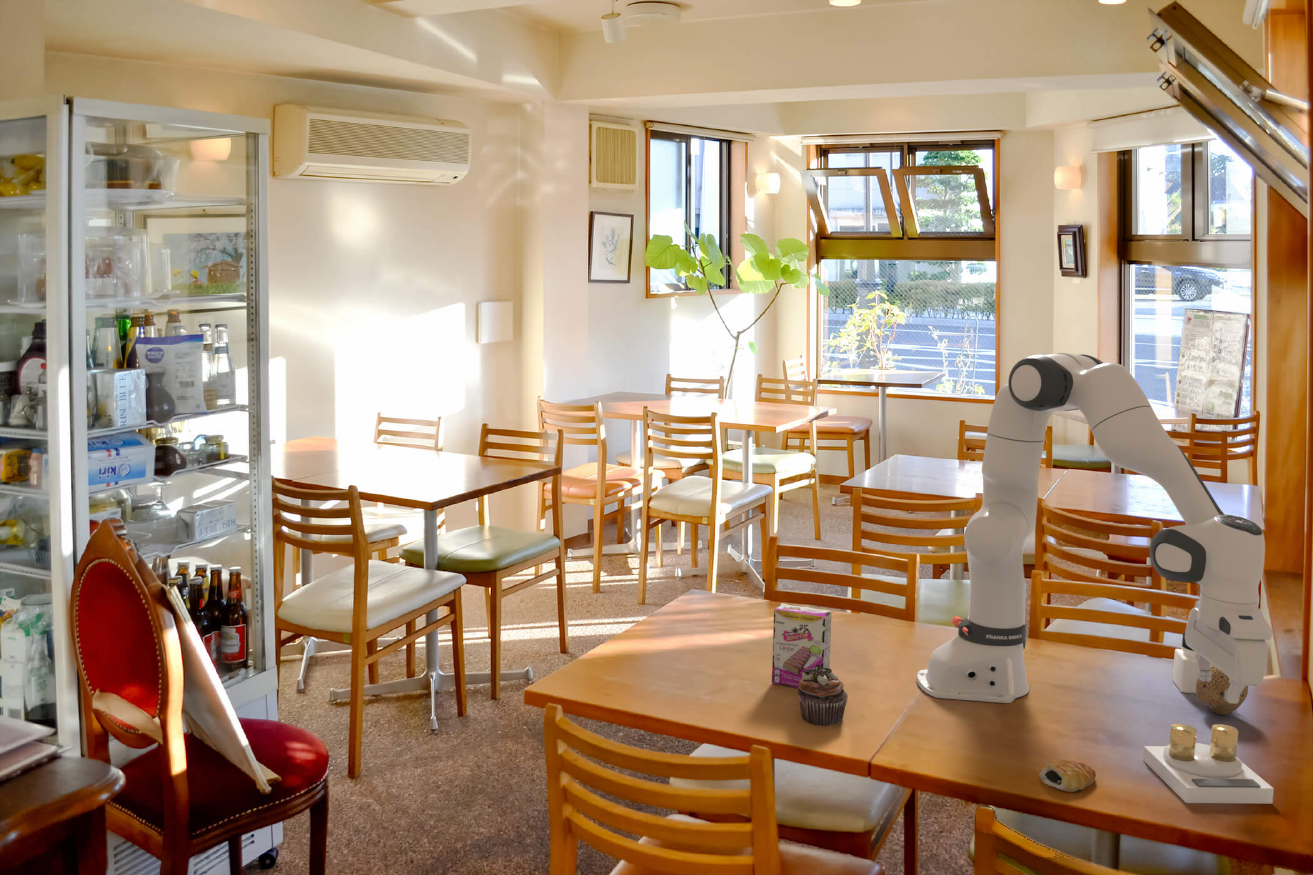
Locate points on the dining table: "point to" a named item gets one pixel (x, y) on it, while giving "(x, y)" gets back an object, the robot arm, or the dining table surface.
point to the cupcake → (821, 697)
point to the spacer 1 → (1182, 742)
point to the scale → (1208, 777)
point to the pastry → (1068, 775)
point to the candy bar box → (799, 642)
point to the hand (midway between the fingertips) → (1217, 690)
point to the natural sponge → (1218, 692)
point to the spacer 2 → (1223, 743)
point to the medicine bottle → (1185, 668)
